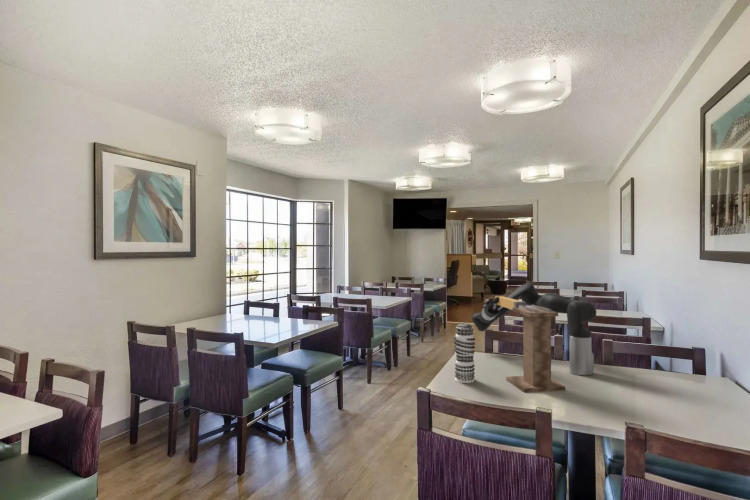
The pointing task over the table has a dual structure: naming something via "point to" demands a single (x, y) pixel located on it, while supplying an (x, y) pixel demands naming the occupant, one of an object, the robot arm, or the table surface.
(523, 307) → the stand
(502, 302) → the tan rectangular block
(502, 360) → the table surface
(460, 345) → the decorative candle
